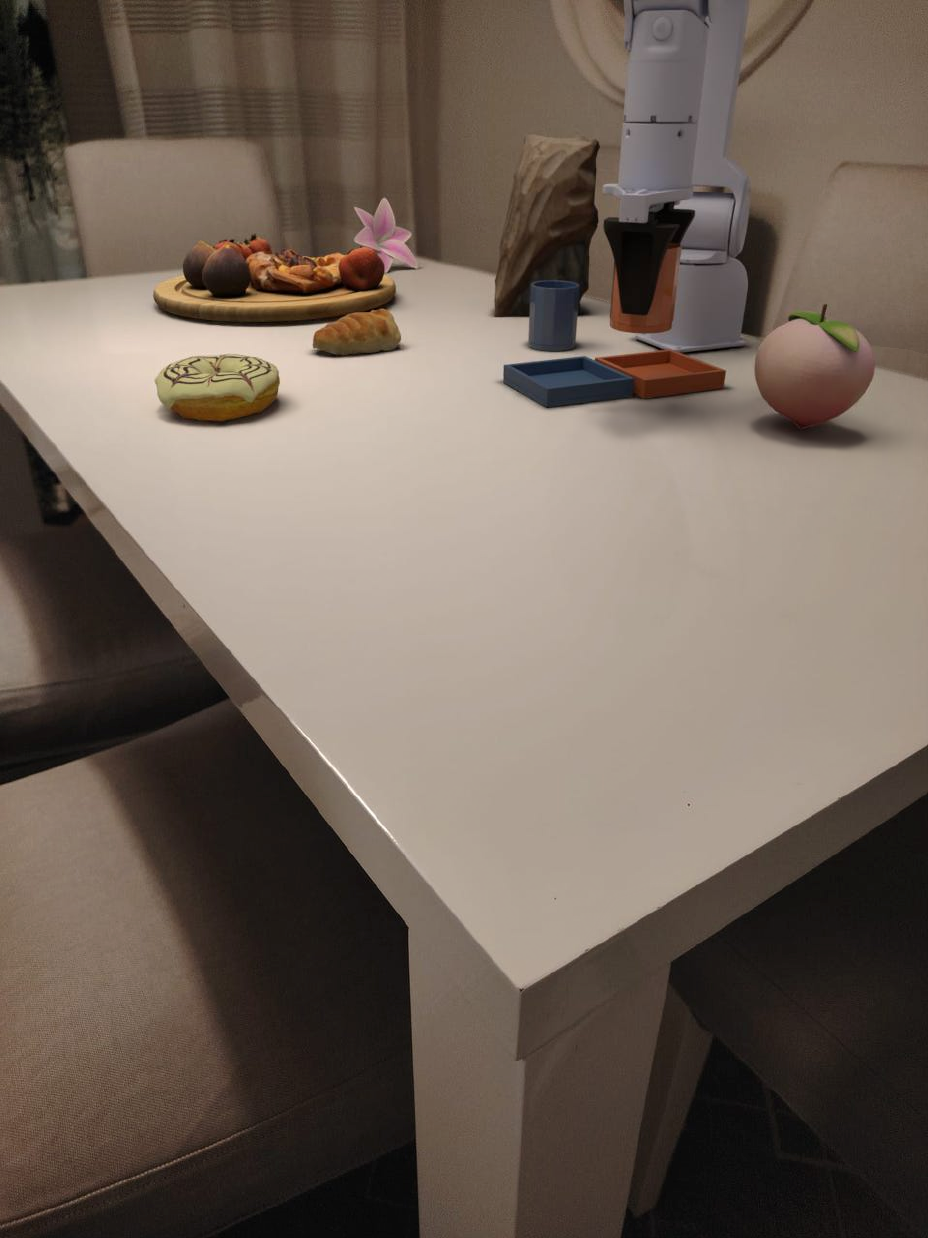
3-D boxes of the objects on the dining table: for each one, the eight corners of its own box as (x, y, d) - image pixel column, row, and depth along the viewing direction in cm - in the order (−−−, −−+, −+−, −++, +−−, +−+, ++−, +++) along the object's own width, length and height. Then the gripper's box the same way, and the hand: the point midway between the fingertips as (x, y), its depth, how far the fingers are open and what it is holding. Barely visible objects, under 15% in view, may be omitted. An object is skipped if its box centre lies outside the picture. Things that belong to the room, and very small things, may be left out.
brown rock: (504, 297, 125) (508, 132, 115) (596, 300, 123) (608, 133, 113) (489, 315, 114) (492, 136, 104) (590, 320, 112) (603, 137, 102)
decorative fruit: (722, 418, 78) (740, 297, 73) (798, 408, 81) (820, 290, 76) (797, 453, 70) (824, 320, 65) (878, 439, 73) (908, 311, 68)
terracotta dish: (669, 365, 93) (671, 349, 92) (723, 388, 86) (726, 370, 85) (593, 374, 90) (594, 357, 89) (643, 398, 83) (645, 380, 82)
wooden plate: (442, 294, 127) (441, 230, 123) (287, 338, 103) (280, 261, 99) (272, 273, 142) (266, 215, 138) (103, 307, 118) (90, 239, 114)
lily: (343, 281, 141) (365, 225, 135) (329, 240, 148) (349, 185, 142) (411, 300, 148) (435, 247, 141) (394, 260, 154) (417, 208, 148)
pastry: (333, 361, 94) (330, 323, 92) (300, 349, 99) (297, 313, 97) (406, 348, 99) (405, 312, 98) (372, 337, 104) (370, 302, 102)
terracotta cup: (648, 317, 80) (656, 238, 77) (684, 330, 76) (694, 247, 72) (597, 322, 78) (603, 241, 75) (631, 336, 74) (639, 250, 71)
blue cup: (560, 338, 104) (564, 278, 100) (584, 348, 100) (588, 286, 96) (520, 342, 102) (522, 281, 99) (542, 353, 98) (544, 289, 94)
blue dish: (583, 372, 91) (585, 355, 90) (632, 396, 84) (634, 378, 83) (502, 382, 88) (503, 364, 87) (546, 407, 80) (547, 388, 80)
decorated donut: (147, 426, 76) (139, 381, 74) (174, 390, 85) (167, 349, 83) (274, 423, 76) (269, 379, 74) (286, 388, 85) (282, 347, 83)
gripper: (629, 119, 76) (615, 288, 83) (584, 124, 65) (573, 320, 72) (714, 120, 74) (693, 293, 81) (684, 125, 62) (662, 327, 69)
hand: (642, 306), depth 76 cm, fingers closed on terracotta cup, 5 cm apart
